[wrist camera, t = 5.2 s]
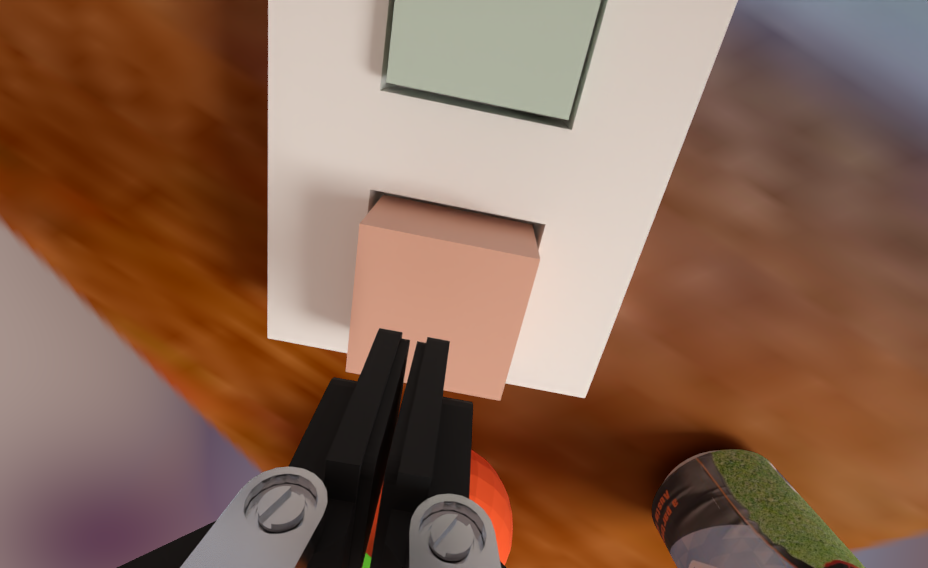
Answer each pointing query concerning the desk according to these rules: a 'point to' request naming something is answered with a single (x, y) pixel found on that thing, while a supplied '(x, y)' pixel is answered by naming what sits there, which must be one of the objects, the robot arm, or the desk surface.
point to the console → (478, 166)
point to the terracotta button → (443, 288)
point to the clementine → (485, 494)
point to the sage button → (493, 50)
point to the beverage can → (741, 517)
